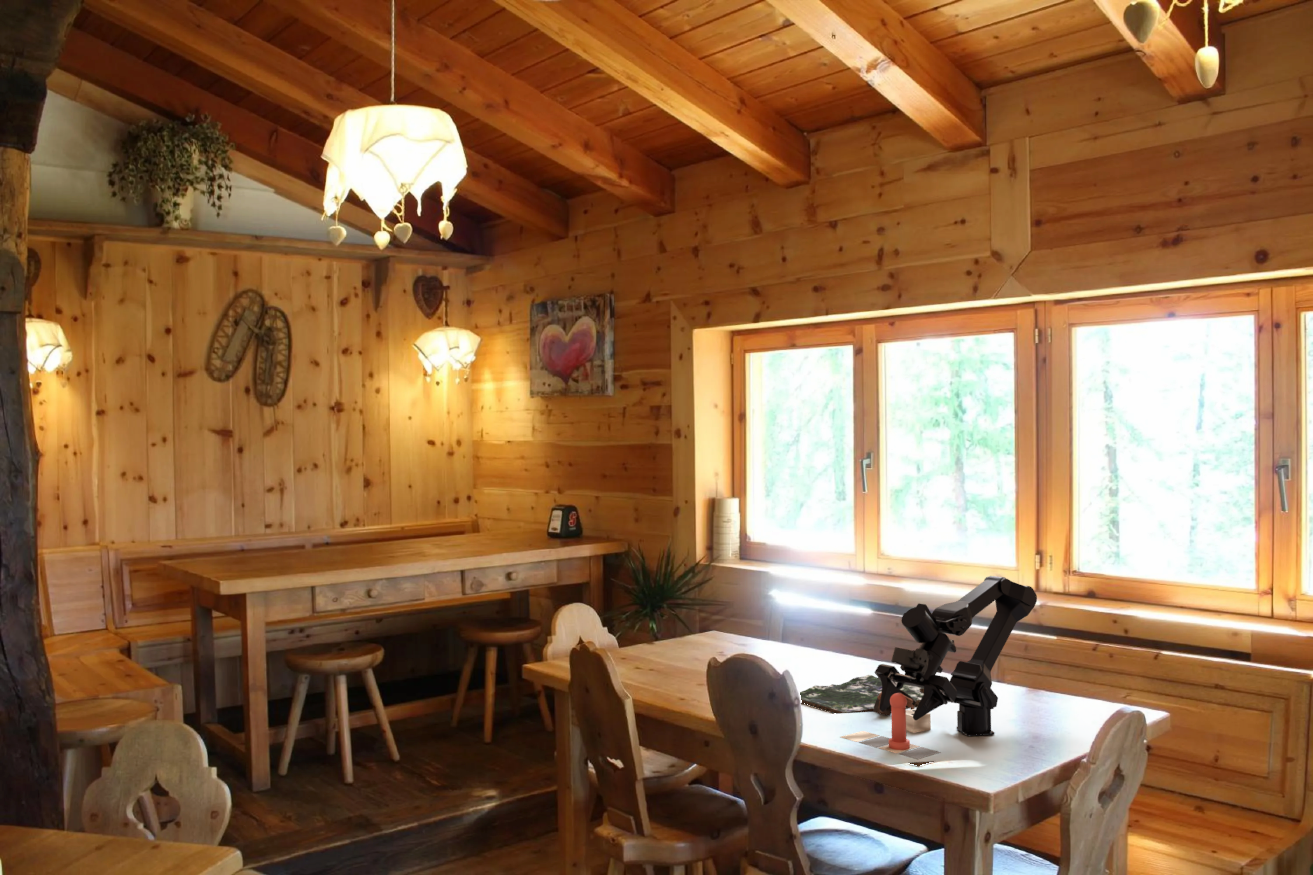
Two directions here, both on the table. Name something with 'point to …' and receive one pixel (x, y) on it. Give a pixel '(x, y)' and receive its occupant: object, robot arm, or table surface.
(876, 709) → the pottery mug
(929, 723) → the die
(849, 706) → the topographical map
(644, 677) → the table surface
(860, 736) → the game board
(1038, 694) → the table surface
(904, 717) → the pawn
